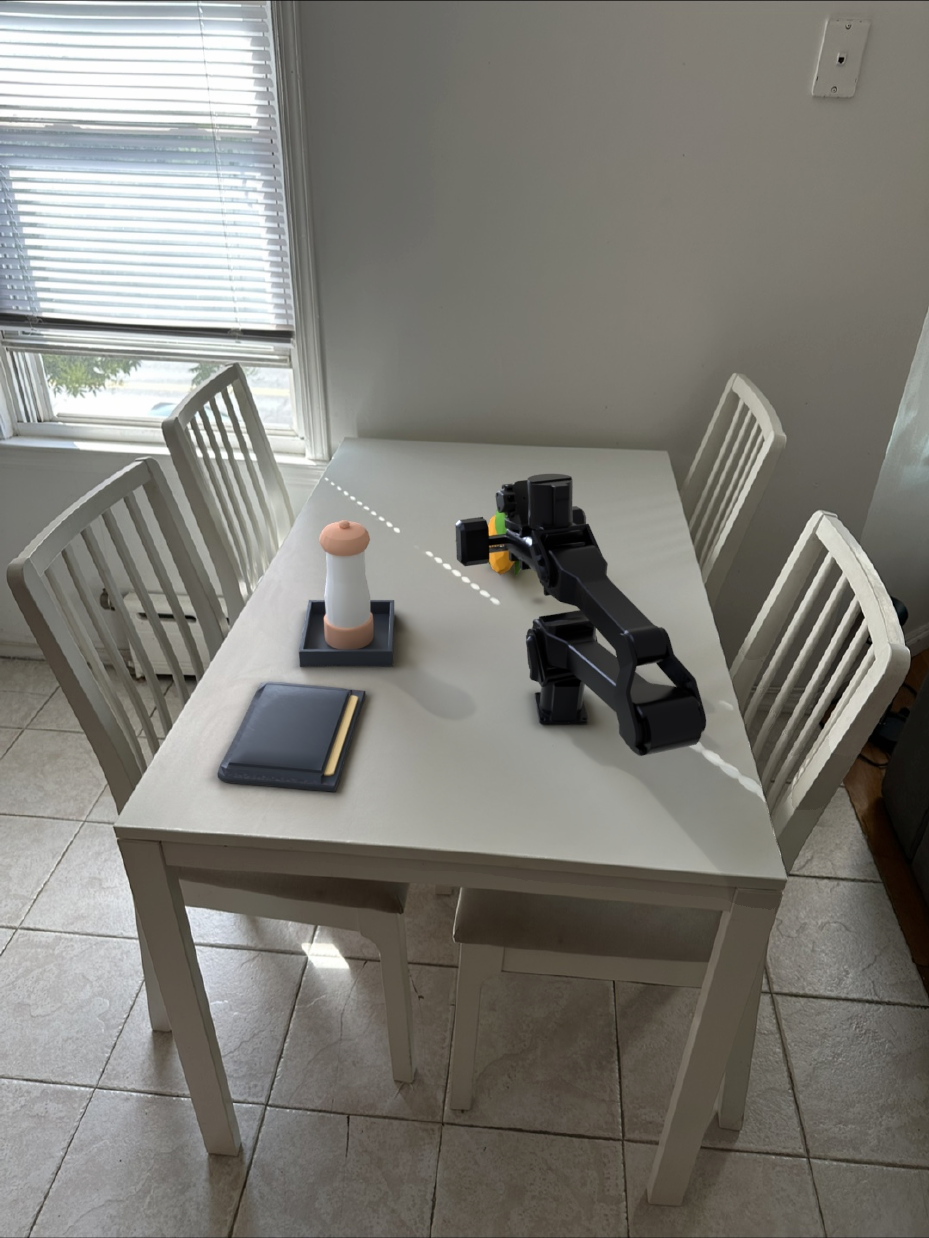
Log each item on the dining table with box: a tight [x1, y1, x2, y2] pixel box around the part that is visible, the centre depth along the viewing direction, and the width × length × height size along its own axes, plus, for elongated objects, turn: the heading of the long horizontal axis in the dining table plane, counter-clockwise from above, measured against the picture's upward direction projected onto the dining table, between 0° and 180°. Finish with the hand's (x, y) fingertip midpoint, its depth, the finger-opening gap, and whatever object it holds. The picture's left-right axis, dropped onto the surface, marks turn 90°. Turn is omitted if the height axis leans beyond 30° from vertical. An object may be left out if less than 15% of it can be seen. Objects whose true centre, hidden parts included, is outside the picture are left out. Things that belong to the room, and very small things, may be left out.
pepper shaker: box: [318, 519, 374, 649], centre depth 133 cm, size 7×7×19 cm
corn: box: [487, 509, 521, 576], centre depth 158 cm, size 7×8×20 cm
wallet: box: [216, 681, 367, 793], centre depth 118 cm, size 20×2×15 cm
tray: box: [298, 599, 395, 667], centre depth 138 cm, size 14×13×3 cm
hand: (500, 521), depth 137 cm, fingers open, 9 cm apart
